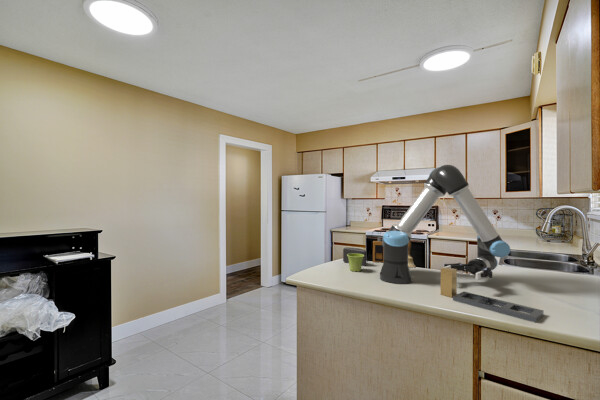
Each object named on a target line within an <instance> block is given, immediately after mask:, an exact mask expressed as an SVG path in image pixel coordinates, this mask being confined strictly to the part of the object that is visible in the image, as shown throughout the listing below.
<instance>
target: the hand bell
mask: <svg viewBox="0 0 600 400" xmlns="http://www.w3.org/2000/svg"><path fill="white" fill-rule="evenodd" d="M411 249H412V241H411V240H410V241H409V242H408V266H409V269H412V268H411V267H414V268H416V265H415V264H414V259H413V257H412V256H411Z"/></svg>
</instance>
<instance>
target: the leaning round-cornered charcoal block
mask: <svg viewBox="0 0 600 400" xmlns="http://www.w3.org/2000/svg"><path fill="white" fill-rule="evenodd" d="M352 253H355V254H362V255H364V257H363V260H362V266H361V267H366V266H367V258H368V256H367V255H368V254H367V253H368V252H367V251H366V250H365V249H362V248H356V247H344V248H343V250H342V256H343V257H342V261H343V263H346V264H349V259H348V256H347V254H352Z"/></svg>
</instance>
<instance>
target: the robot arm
mask: <svg viewBox="0 0 600 400" xmlns="http://www.w3.org/2000/svg"><path fill="white" fill-rule="evenodd" d="M423 187H424V188H423V189H422V191H421V192H420V193H419V195H418V196H417V197H416V198H415V199H414V201H413V202H412V203H411V205H410V206H409V208H408V209H407V211H405V213H404V215H403V216H402V217H401V218H400V220H399V221H398V222H397V223H396V224H393V225H391V227H390V228H389V230H387V231H386V232H384V233H383V236H382V238H381V241H382V245H383V247H384V263H383V262H382V263H383V264H382V267H381V270H380V272H379V279H380V280H381V281H383V282H385V283H386V282H387V283H391V284H399V285H400V284H402V285H403V284H411V283H412V282H413V276H412V273H411V271H410V269H411V268H409V266H408V242H409V241H411V239H412V233H413V232H414V230H415V229H416V228H417V226H418V225H419V223H420V222H422V220H423V218H424V217H425V216H426V215H427V213H428V212H429V211H430V210H431V208H432V207H433V206H434V205H435V203H436V202H437V201H438V200H439V198H441V197H444V196H445V195H446V193H447V195H448V196H451V197H453V199H454V201H455V202H456V204H457V205H458V207H459V209H460V210H461V211H462V213H463V215H464V216H465V217H466V220H468V222H469V224H470V225H471V227H472V229H473V230H474V231H475V233H476V234H477V237H476V244H477V245H476V248H477V249H476V250H477V253H476V255H477V256H476V257H475V258H472V259H470V260H469V261H468V262H467V263H462V262H458V263H444V264H443V265H444V266H443V267H442V268H445V267H448V268H453V269H457V272H459V271H460V272H461V271H462V272H463V273H464V272H467V273H470V274H472V275H474V276H475V280H476V281H478V280H481V279H483V278H489V279H492V278H493V270H494V269H495V270H496V268H497V267H498V265H499V263H498V259H497V258H505V257H507V256H509V254H510V253H511V247H510V245H509V243H507V242H506V241H504V240H503V239H502V237H501V236H500V234H499V233H498V232H497V230H496V228H495V227H494V226H493V224H492V222H491V221H490V219H489V217H488V216H487V214H486V213H485V212H484V210H483V208H482V207H481V206H480V204H479V202H478V201H477V199H476V197H475V196H474V195H473V194H472V192H471V190H470V189H469V187H470V184H469V183H468V180H467V179H466V178H465V176H464V175H463V173H462V172H461V170H460V169H459V168H458V167H456V166H454V165H452V164H444V165H441V166H439V167H435V168H434V169H433V170H431V172H430V173H429V175H428V177H427V179H426V181H424V183H423Z"/></svg>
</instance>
